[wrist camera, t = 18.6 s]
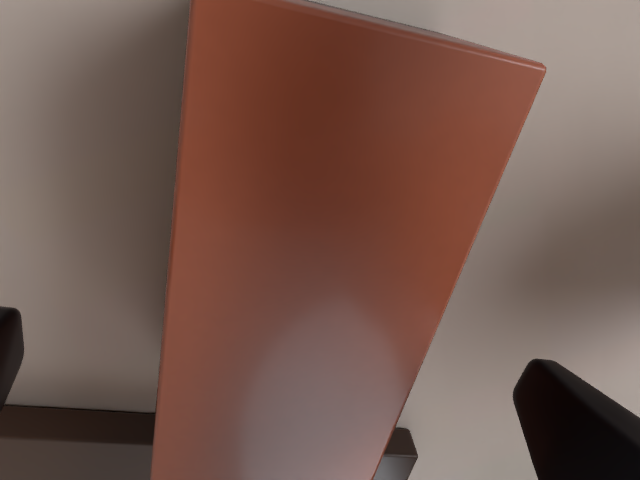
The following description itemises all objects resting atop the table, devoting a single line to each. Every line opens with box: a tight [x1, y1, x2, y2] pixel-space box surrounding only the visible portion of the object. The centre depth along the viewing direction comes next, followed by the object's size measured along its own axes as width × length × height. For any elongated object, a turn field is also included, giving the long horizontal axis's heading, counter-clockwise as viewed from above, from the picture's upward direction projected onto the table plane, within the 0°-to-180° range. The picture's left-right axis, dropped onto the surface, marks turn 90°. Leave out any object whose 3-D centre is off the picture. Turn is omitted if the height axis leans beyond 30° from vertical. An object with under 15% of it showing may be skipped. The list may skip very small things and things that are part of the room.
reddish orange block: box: [150, 0, 546, 480], centre depth 11 cm, size 5×11×5 cm, turn 168°
